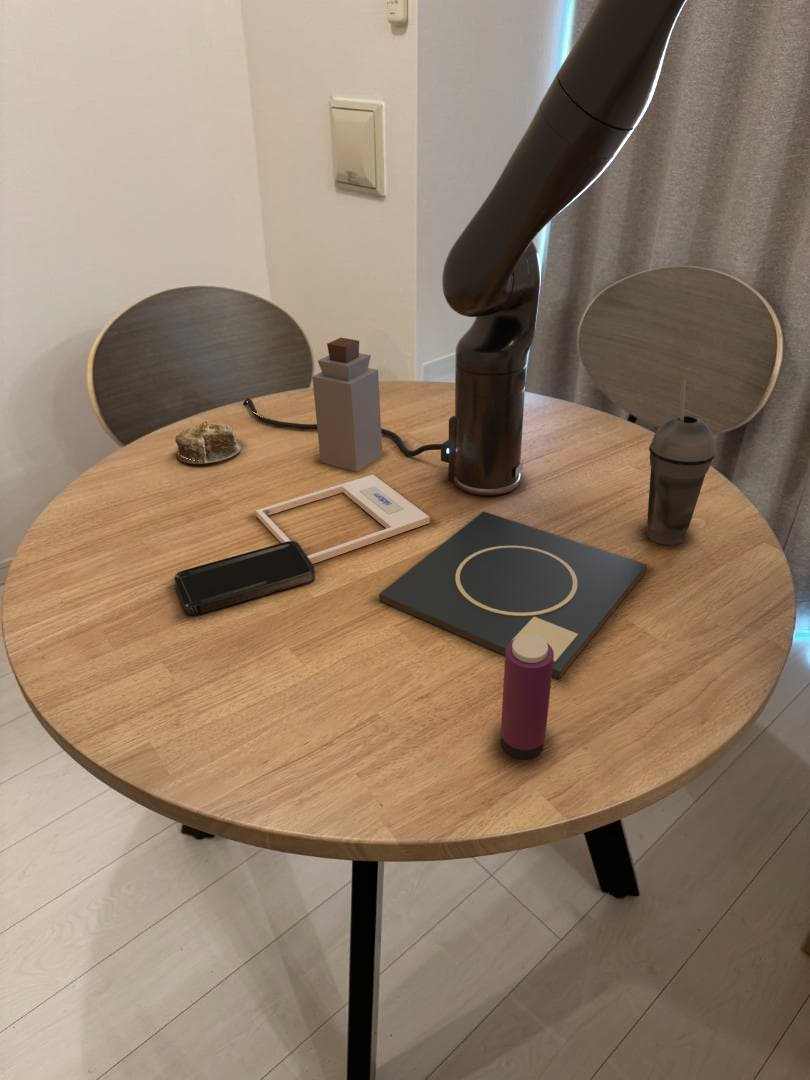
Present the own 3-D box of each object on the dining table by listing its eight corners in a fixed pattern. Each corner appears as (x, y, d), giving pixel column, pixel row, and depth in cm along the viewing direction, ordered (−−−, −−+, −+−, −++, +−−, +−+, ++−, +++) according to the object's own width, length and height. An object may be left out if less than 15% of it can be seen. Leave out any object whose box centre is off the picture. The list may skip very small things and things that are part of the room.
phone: (172, 573, 85) (295, 538, 90) (174, 581, 86) (296, 546, 91) (185, 610, 79) (317, 571, 84) (188, 618, 80) (318, 579, 85)
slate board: (379, 600, 82) (378, 592, 81) (483, 517, 97) (483, 510, 96) (559, 679, 70) (560, 670, 70) (646, 571, 85) (647, 563, 85)
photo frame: (429, 515, 95) (302, 559, 87) (429, 522, 96) (303, 567, 88) (372, 473, 106) (255, 509, 98) (373, 480, 106) (256, 516, 98)
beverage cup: (700, 553, 88) (735, 394, 77) (637, 548, 89) (663, 391, 79) (692, 522, 94) (724, 371, 83) (633, 518, 95) (657, 368, 85)
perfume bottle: (382, 454, 114) (376, 339, 104) (356, 472, 109) (348, 352, 99) (347, 445, 117) (338, 332, 107) (320, 462, 112) (309, 345, 102)
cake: (163, 462, 115) (155, 429, 112) (209, 439, 122) (202, 408, 119) (209, 471, 110) (201, 437, 107) (254, 446, 117) (248, 414, 114)
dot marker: (491, 747, 64) (496, 649, 58) (513, 720, 66) (520, 624, 60) (531, 767, 62) (540, 668, 56) (552, 739, 64) (563, 641, 58)
